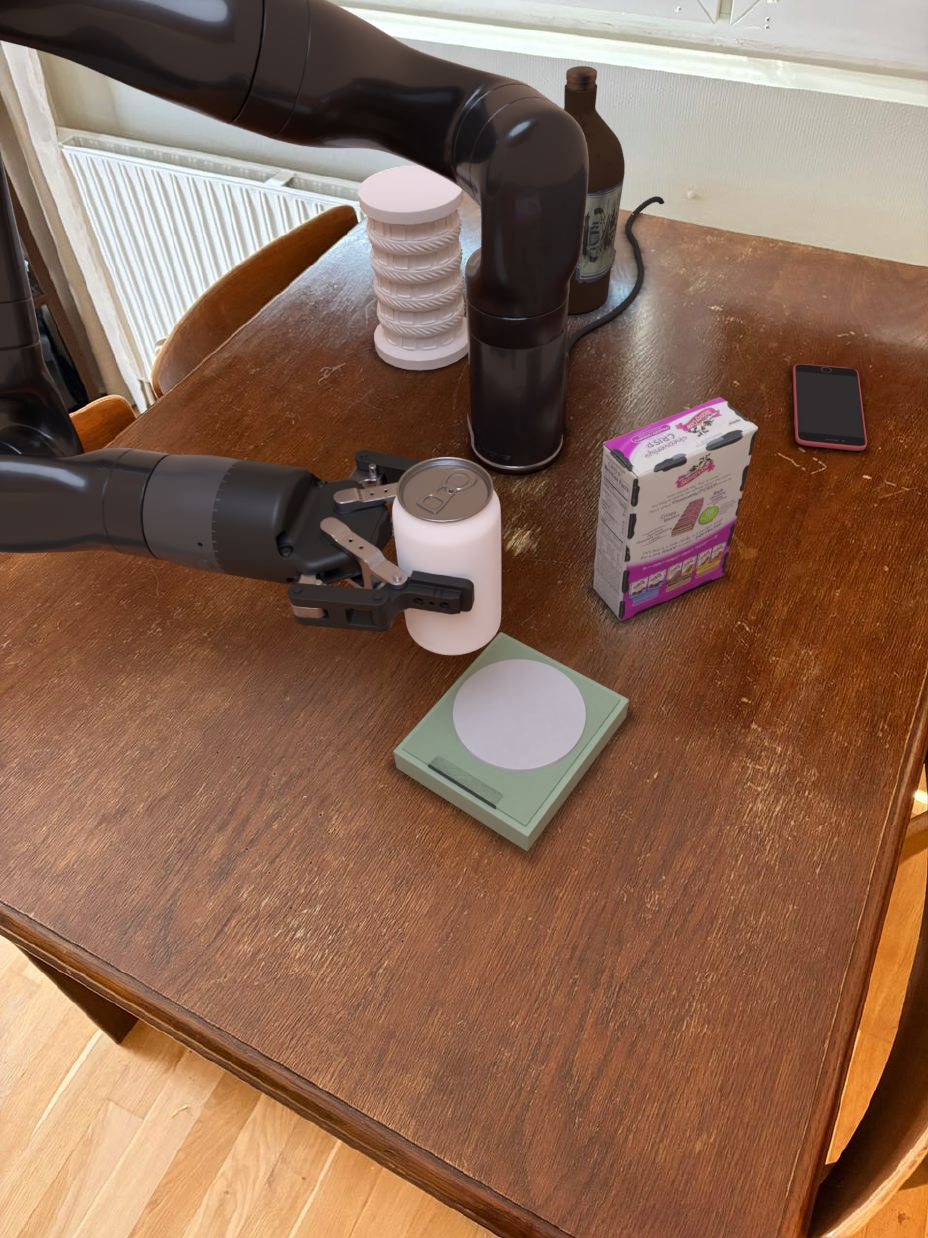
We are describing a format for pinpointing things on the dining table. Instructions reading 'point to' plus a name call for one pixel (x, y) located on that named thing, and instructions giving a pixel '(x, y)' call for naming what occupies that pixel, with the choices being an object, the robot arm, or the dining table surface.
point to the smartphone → (828, 407)
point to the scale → (512, 738)
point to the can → (451, 548)
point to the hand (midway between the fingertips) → (485, 554)
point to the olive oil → (595, 193)
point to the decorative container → (416, 266)
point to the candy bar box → (669, 505)
